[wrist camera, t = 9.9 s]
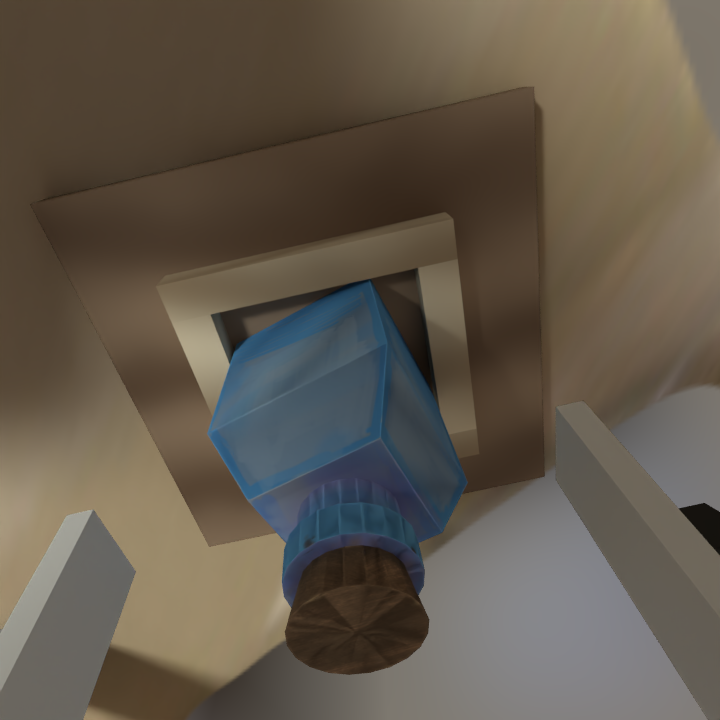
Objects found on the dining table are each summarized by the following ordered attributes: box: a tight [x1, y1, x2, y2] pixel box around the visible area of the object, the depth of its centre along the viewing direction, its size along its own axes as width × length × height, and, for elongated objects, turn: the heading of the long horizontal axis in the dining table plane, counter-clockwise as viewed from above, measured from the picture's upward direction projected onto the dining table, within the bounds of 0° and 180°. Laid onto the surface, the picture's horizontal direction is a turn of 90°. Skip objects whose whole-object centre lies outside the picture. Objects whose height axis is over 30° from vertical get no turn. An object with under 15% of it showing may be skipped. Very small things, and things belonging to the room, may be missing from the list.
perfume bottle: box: [207, 279, 468, 675], centre depth 16 cm, size 6×6×12 cm
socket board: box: [30, 87, 545, 547], centre depth 21 cm, size 18×18×2 cm
